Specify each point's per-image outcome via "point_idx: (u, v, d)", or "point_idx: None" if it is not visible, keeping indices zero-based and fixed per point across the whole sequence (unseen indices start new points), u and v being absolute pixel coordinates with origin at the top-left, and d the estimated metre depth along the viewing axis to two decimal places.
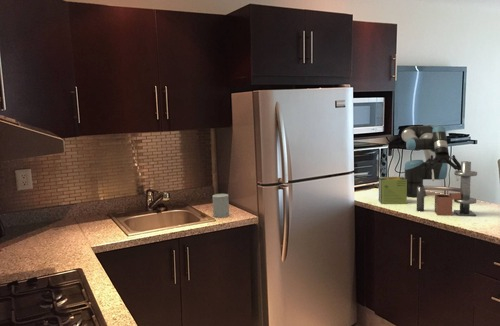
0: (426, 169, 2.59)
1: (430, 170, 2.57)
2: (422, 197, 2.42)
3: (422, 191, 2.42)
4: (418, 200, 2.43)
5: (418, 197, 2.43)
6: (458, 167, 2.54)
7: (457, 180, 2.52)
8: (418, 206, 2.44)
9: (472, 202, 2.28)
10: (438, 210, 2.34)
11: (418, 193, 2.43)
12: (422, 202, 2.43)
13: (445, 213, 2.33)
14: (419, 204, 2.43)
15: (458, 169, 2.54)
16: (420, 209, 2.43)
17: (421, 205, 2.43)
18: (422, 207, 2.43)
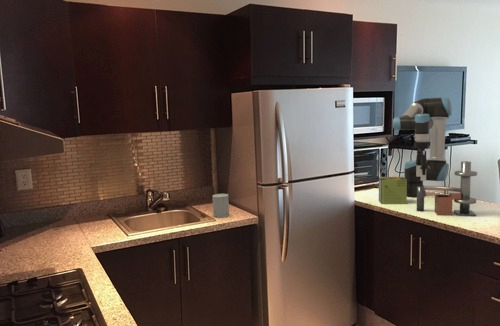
0: None
1: (417, 165, 2.50)
2: (422, 197, 2.42)
3: (422, 191, 2.42)
4: (418, 200, 2.43)
5: (418, 197, 2.43)
6: (421, 166, 2.34)
7: None
8: (418, 206, 2.44)
9: (472, 202, 2.28)
10: (438, 210, 2.34)
11: (418, 193, 2.43)
12: (422, 202, 2.43)
13: (445, 213, 2.33)
14: (419, 204, 2.43)
15: (422, 169, 2.34)
16: (420, 209, 2.43)
17: (421, 205, 2.43)
18: (422, 207, 2.43)
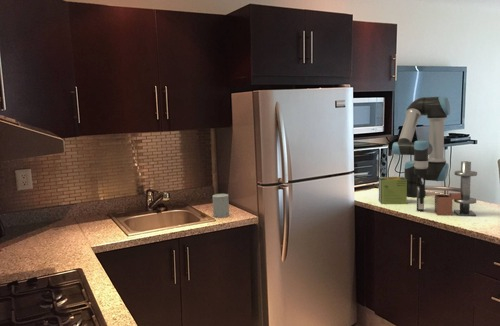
0: None
1: None
2: None
3: None
4: (418, 200, 2.43)
5: None
6: (419, 196, 2.41)
7: (422, 208, 2.43)
8: None
9: (472, 202, 2.28)
10: (438, 210, 2.34)
11: (418, 193, 2.43)
12: None
13: (445, 213, 2.33)
14: None
15: (419, 197, 2.41)
16: (420, 209, 2.43)
17: None
18: None
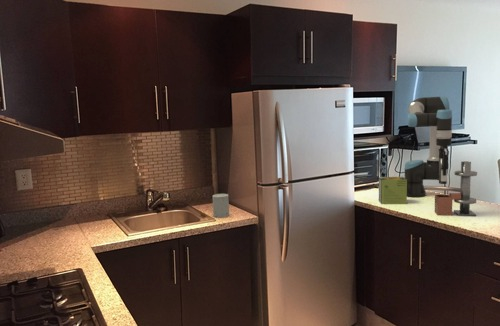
0: None
1: None
2: None
3: None
4: None
5: None
6: (442, 167, 2.30)
7: None
8: None
9: (472, 202, 2.28)
10: (438, 210, 2.34)
11: (441, 164, 2.32)
12: None
13: (445, 213, 2.33)
14: None
15: (442, 169, 2.31)
16: (443, 181, 2.33)
17: None
18: None
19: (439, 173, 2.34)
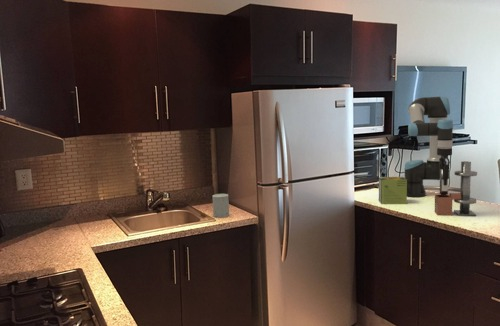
0: None
1: None
2: None
3: None
4: (441, 183, 2.33)
5: (441, 180, 2.33)
6: (443, 177, 2.31)
7: (445, 190, 2.33)
8: (441, 189, 2.34)
9: (472, 202, 2.28)
10: (438, 210, 2.34)
11: (441, 176, 2.33)
12: None
13: (445, 213, 2.33)
14: None
15: (443, 179, 2.32)
16: (443, 192, 2.33)
17: None
18: None
19: (440, 184, 2.35)
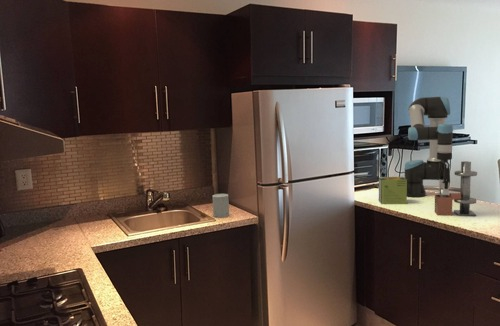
0: None
1: (440, 180, 2.40)
2: None
3: None
4: None
5: None
6: (444, 181, 2.29)
7: (446, 194, 2.31)
8: None
9: (472, 202, 2.28)
10: (438, 210, 2.34)
11: (441, 195, 2.35)
12: None
13: (445, 213, 2.33)
14: None
15: (444, 182, 2.29)
16: None
17: None
18: None
19: None
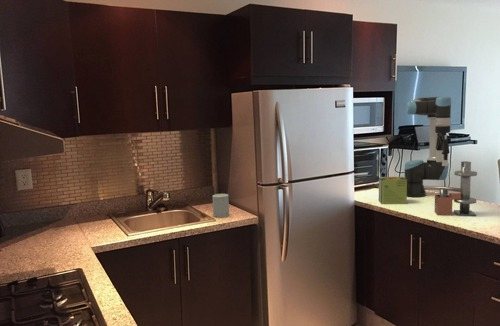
0: None
1: None
2: None
3: (445, 193, 2.34)
4: None
5: None
6: (443, 151, 2.27)
7: (446, 165, 2.29)
8: None
9: (472, 202, 2.28)
10: (438, 210, 2.34)
11: (441, 195, 2.35)
12: None
13: (445, 213, 2.33)
14: None
15: (443, 154, 2.27)
16: None
17: None
18: None
19: None
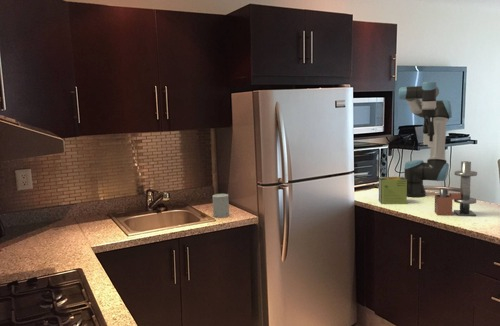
0: None
1: (424, 134, 2.53)
2: None
3: (445, 193, 2.34)
4: None
5: None
6: (428, 133, 2.37)
7: (431, 147, 2.39)
8: None
9: (472, 202, 2.28)
10: (438, 210, 2.34)
11: (441, 195, 2.35)
12: None
13: (445, 213, 2.33)
14: None
15: (429, 135, 2.38)
16: None
17: None
18: None
19: None
